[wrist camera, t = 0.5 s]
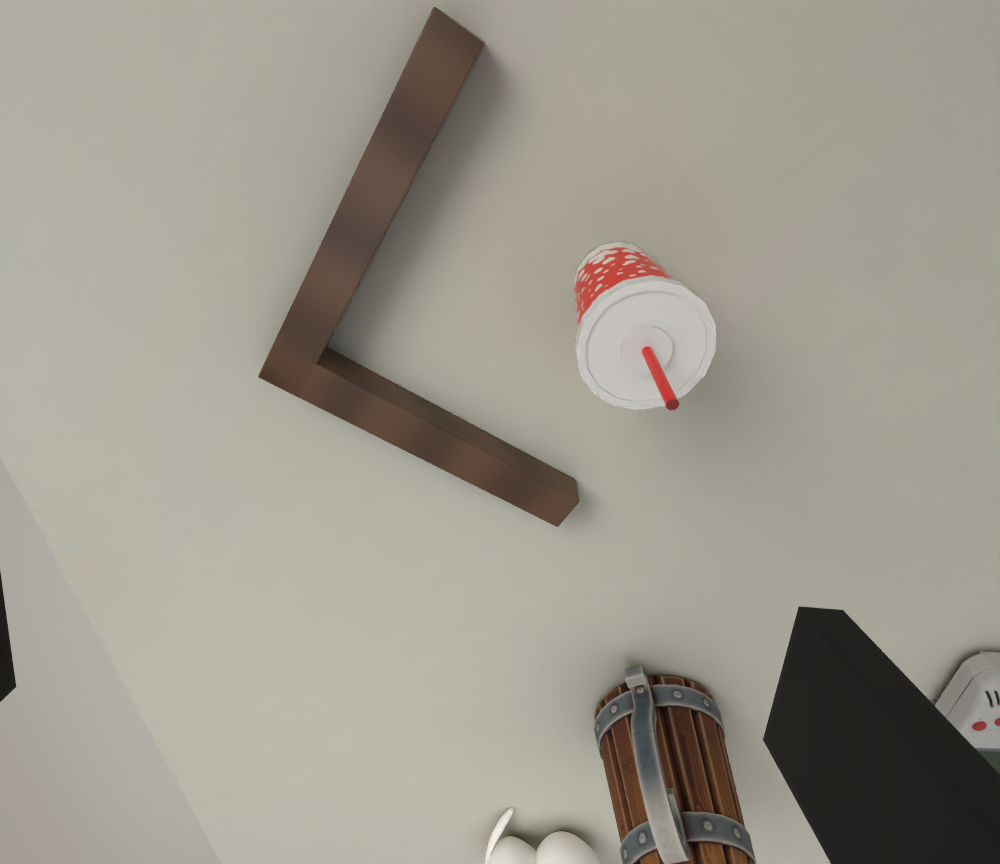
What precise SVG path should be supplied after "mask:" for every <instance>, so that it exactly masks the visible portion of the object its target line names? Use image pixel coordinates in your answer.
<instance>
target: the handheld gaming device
mask: <svg viewBox="0 0 1000 864" xmlns="http://www.w3.org/2000/svg"><path fill="white" fill-rule="evenodd" d="M935 707H936V708H937V709H938V710H939V711H940V712H941V713H942V714H943V715H944V716H945V717H946V718H947V720H948V721H949V722H950V723H951V724H952V725H953V726H954V727H955V728H956V729H957V730H958V731H959V732H960V733H961V734H962V735H963V736H964V737H965V738H966V739H967V740H968V741H969V743H970V744H971V745H972V746H973V747H974V748H975V749H976V750H977V751H978V752H979V753H980V754H981V755H982V756H983V757H984V758H985V759H986V760H987V761H988V762H989V763H990V765H991V766H992V767H993V768H994V769H995V770H996V771H997V772H998V773H999V774H1000V652H993V651H979V653H978V654H977V655H975V656H973V657H970V658H969V659H967V660H966V661H964V662H963V663H962V665H961V666H960V667H959V669H958V670H957V672H956V673H955V675H954V676H953V678H952V679H951V681H950V683H949V684H948V686H947V687H946V689H945V690H944V692H943V693H942V695H941V696H940V698H939V700H938V701H937V703H936V704H935Z"/></svg>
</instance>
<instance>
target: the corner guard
mask: <svg viewBox="0 0 1000 864" xmlns="http://www.w3.org/2000/svg"><path fill="white" fill-rule="evenodd" d="M484 45H485V42H484V41H482V40H481V39H479V38H478V37H477V36H475V35H474V34H472V33H471V32H470V31H468V30H467V29H466V28H464V27H463V26H461V25H460V24H459V23H457V22H456V21H455V20H453V19H452V18H450V17H449V16H448V15H446V14H445V13H444V12H442V11H441V10H439V9H437V8H436V7H434V8H433V9H432V11H431V14H430V16H429V18H428V20H427V22H426V24H425V26H424V28H423V30H422V32H421V35H420V37H419V39H418V41H417V43H416V45H415V47H414V49H413V51H412V54H411V56H410V58H409V60H408V62H407V64H406V66H405V68H404V70H403V72H402V75H401V77H400V79H399V81H398V83H397V85H396V87H395V89H394V91H393V94H392V96H391V98H390V100H389V102H388V104H387V106H386V108H385V110H384V112H383V115H382V117H381V119H380V121H379V123H378V125H377V127H376V129H375V131H374V134H373V136H372V138H371V140H370V142H369V144H368V146H367V148H366V150H365V152H364V155H363V157H362V159H361V161H360V163H359V165H358V167H357V169H356V171H355V174H354V176H353V178H352V180H351V182H350V184H349V186H348V188H347V190H346V192H345V195H344V197H343V199H342V201H341V203H340V205H339V207H338V209H337V211H336V214H335V216H334V218H333V220H332V222H331V224H330V226H329V228H328V230H327V232H326V235H325V237H324V239H323V241H322V243H321V245H320V247H319V249H318V251H317V254H316V256H315V258H314V260H313V262H312V264H311V266H310V268H309V270H308V272H307V275H306V277H305V279H304V281H303V283H302V285H301V287H300V289H299V291H298V294H297V296H296V298H295V300H294V302H293V304H292V306H291V308H290V310H289V312H288V315H287V317H286V319H285V321H284V323H283V325H282V327H281V329H280V331H279V334H278V336H277V338H276V340H275V342H274V344H273V346H272V348H271V350H270V352H269V354H268V356H267V359H266V361H265V363H264V365H263V367H262V369H261V371H260V373H259V376H258V377H259V378H261V379H263V380H265V381H267V382H269V383H271V384H273V385H275V386H277V387H279V388H281V389H283V390H285V391H287V392H289V393H291V394H293V395H295V396H297V397H299V398H301V399H303V400H305V401H307V402H309V403H311V404H313V405H315V406H317V407H319V408H321V409H323V410H325V411H327V412H329V413H331V414H333V415H335V416H337V417H339V418H341V419H343V420H345V421H347V422H349V423H351V424H353V425H355V426H357V427H359V428H361V429H363V430H365V431H367V432H369V433H371V434H373V435H375V436H377V437H379V438H381V439H383V440H385V441H387V442H389V443H391V444H393V445H395V446H397V447H399V448H401V449H403V450H405V451H407V452H409V453H411V454H413V455H415V456H417V457H419V458H421V459H423V460H425V461H427V462H429V463H431V464H433V465H435V466H437V467H439V468H441V469H443V470H445V471H447V472H449V473H451V474H453V475H455V476H457V477H459V478H461V479H463V480H465V481H467V482H469V483H471V484H473V485H475V486H477V487H479V488H481V489H483V490H485V491H487V492H489V493H491V494H493V495H495V496H497V497H499V498H501V499H503V500H505V501H507V502H509V503H511V504H513V505H515V506H517V507H519V508H521V509H523V510H525V511H527V512H529V513H531V514H533V515H535V516H537V517H539V518H541V519H543V520H545V521H547V522H549V523H551V524H553V525H555V526H557V527H558V526H559V525H560V524H561V522H562V521H563V520H564V519H565V518H566V517H567V516H568V514H569V513H570V512H571V511H572V510H573V509H574V507H575V506H576V505H577V504H578V503H579V495H578V489H577V483H576V480H575V479H573V478H571V477H570V476H568V475H566V474H564V473H562V472H560V471H558V470H556V469H554V468H553V467H551V466H549V465H547V464H545V463H543V462H541V461H539V460H538V459H536V458H534V457H532V456H530V455H528V454H526V453H524V452H522V451H521V450H519V449H517V448H515V447H513V446H511V445H509V444H507V443H505V442H504V441H502V440H500V439H498V438H496V437H494V436H492V435H490V434H489V433H487V432H485V431H483V430H481V429H479V428H477V427H475V426H473V425H472V424H470V423H468V422H466V421H464V420H462V419H460V418H458V417H457V416H455V415H453V414H451V413H449V412H447V411H445V410H443V409H441V408H440V407H438V406H436V405H434V404H432V403H430V402H428V401H426V400H424V399H423V398H421V397H419V396H417V395H415V394H413V393H411V392H409V391H408V390H406V389H404V388H402V387H400V386H398V385H396V384H394V383H392V382H391V381H389V380H387V379H385V378H383V377H381V376H379V375H377V374H376V373H374V372H372V371H370V370H368V369H366V368H364V367H362V366H360V365H359V364H357V363H355V362H353V361H351V360H349V359H347V358H345V357H344V356H342V355H340V354H338V353H336V352H334V351H332V350H330V349H328V348H327V345H328V344H329V342H330V340H331V338H332V336H333V334H334V332H335V330H336V328H337V326H338V324H339V323H340V321H341V319H342V317H343V315H344V313H345V311H346V309H347V307H348V305H349V303H350V302H351V300H352V298H353V296H354V294H355V292H356V290H357V288H358V286H359V284H360V282H361V280H362V279H363V277H364V275H365V273H366V271H367V269H368V267H369V265H370V263H371V261H372V259H373V258H374V256H375V254H376V252H377V250H378V248H379V246H380V244H381V242H382V240H383V238H384V237H385V235H386V233H387V231H388V229H389V227H390V225H391V223H392V221H393V219H394V217H395V216H396V214H397V212H398V210H399V208H400V206H401V204H402V202H403V200H404V198H405V196H406V194H407V193H408V191H409V189H410V187H411V185H412V183H413V181H414V179H415V177H416V175H417V173H418V172H419V170H420V168H421V166H422V164H423V162H424V160H425V158H426V156H427V154H428V152H429V151H430V149H431V147H432V145H433V143H434V141H435V139H436V137H437V135H438V133H439V131H440V129H441V128H442V126H443V124H444V122H445V120H446V118H447V116H448V114H449V112H450V110H451V108H452V107H453V105H454V103H455V101H456V99H457V97H458V95H459V93H460V91H461V89H462V87H463V86H464V84H465V82H466V80H467V78H468V76H469V74H470V72H471V70H472V68H473V66H474V64H475V63H476V61H477V59H478V57H479V55H480V53H481V51H482V49H483V47H484Z"/></svg>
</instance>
